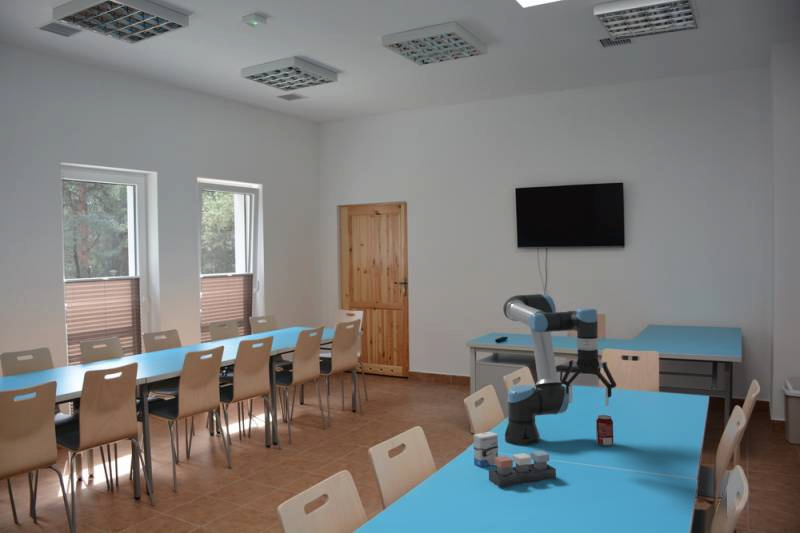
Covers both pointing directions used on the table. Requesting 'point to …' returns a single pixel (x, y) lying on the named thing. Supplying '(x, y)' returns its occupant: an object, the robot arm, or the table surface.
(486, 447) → the ink box
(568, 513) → the table surface
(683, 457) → the table surface
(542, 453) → the key slate
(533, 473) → the console
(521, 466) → the key white
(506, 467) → the key brick
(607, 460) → the table surface
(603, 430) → the soda can
